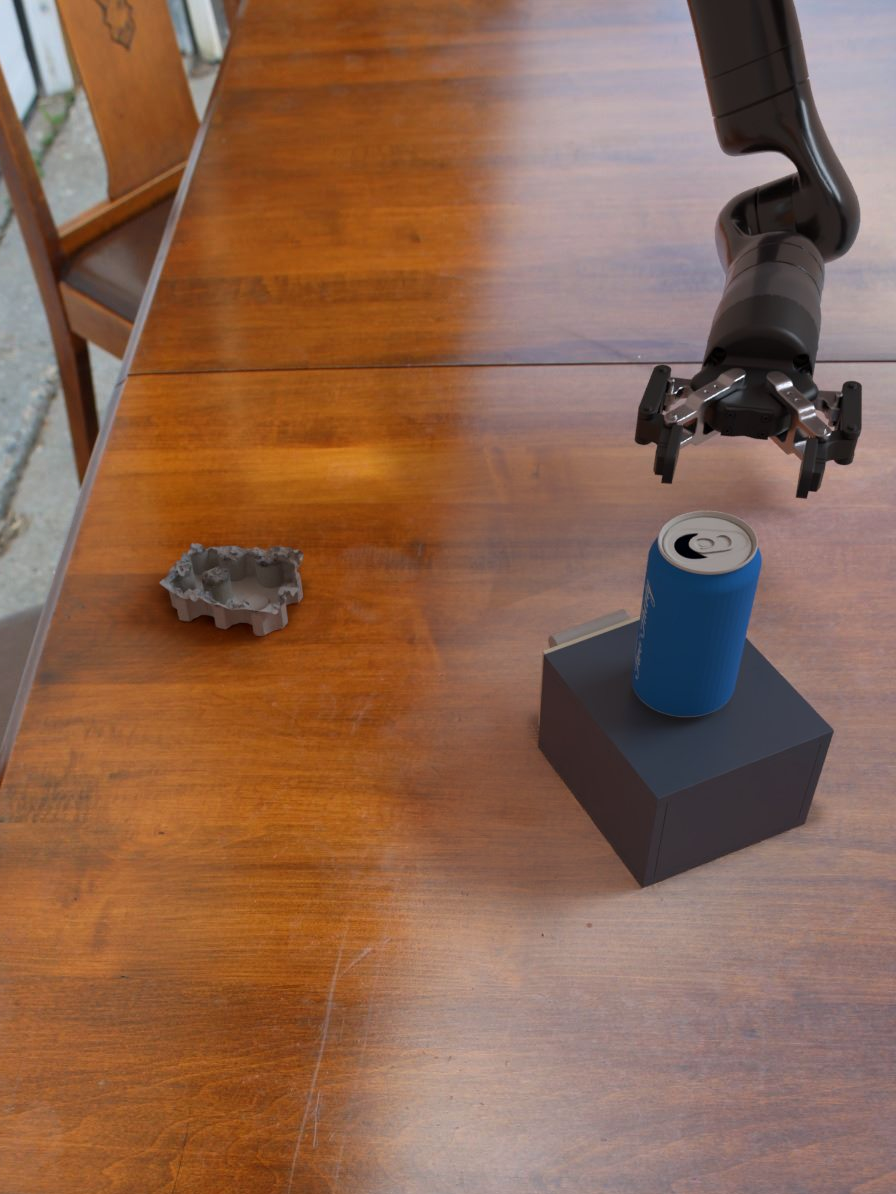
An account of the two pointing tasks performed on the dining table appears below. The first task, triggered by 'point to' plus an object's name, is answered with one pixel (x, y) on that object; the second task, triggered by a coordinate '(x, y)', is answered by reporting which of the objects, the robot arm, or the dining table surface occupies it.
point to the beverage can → (695, 613)
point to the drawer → (585, 634)
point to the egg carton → (236, 585)
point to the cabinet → (678, 757)
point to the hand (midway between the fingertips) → (735, 479)
